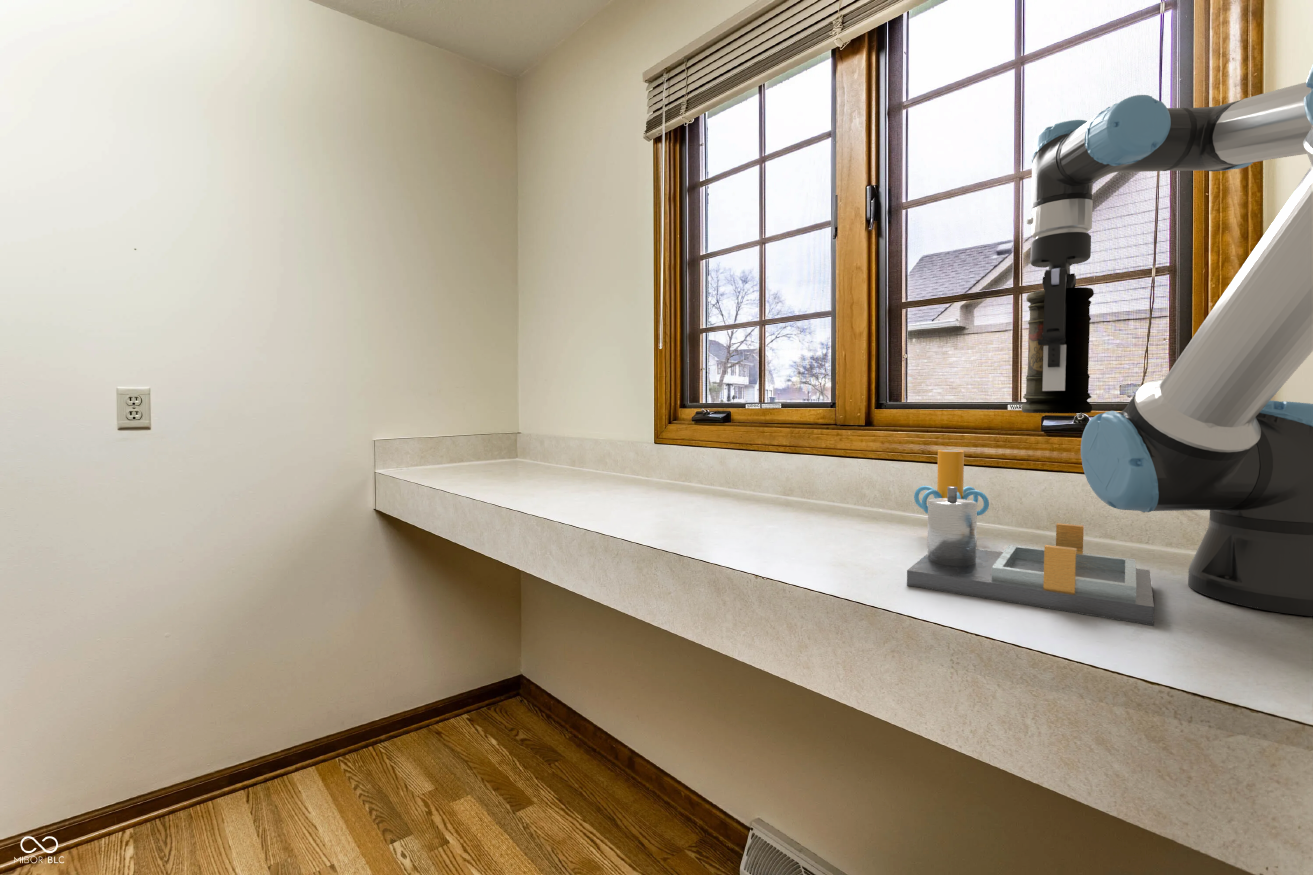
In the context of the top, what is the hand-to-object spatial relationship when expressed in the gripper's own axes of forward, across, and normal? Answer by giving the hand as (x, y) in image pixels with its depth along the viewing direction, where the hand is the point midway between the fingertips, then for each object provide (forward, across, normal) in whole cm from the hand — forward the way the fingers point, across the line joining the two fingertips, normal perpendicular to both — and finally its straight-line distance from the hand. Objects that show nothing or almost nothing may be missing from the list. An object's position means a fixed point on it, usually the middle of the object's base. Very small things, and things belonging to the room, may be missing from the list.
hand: (1056, 390), depth 94 cm
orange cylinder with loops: (+25, -3, -15) cm, 29 cm away
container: (+3, 0, 0) cm, 3 cm away
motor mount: (+25, +20, -1) cm, 32 cm away
